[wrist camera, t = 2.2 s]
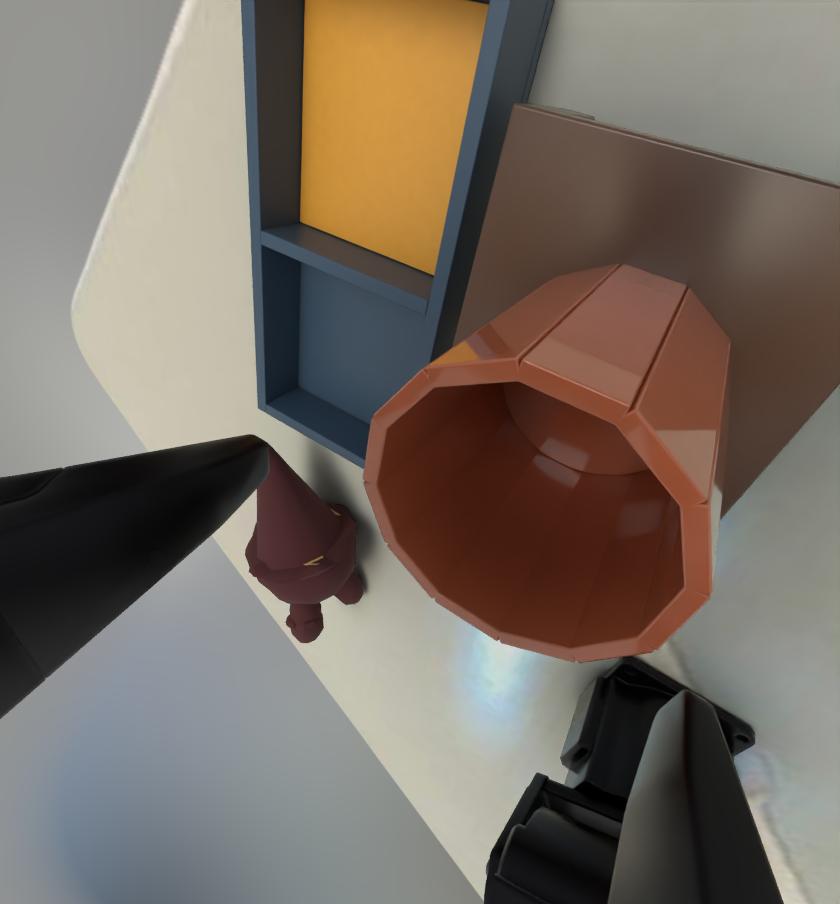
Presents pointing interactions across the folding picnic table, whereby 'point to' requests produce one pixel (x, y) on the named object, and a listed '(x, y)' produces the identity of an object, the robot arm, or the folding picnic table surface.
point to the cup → (564, 466)
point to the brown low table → (677, 256)
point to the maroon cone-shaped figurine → (302, 548)
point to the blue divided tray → (370, 189)
